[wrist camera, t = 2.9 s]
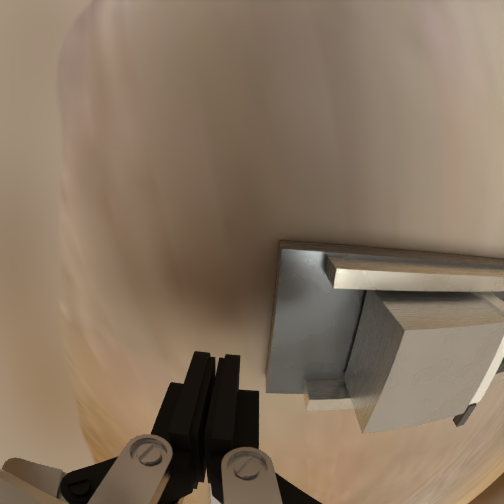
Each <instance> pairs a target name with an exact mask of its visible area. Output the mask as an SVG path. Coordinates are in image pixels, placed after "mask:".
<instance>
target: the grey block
mask: <svg viewBox="0 0 504 504" xmlns="http://www.w3.org/2000/svg"><path fill="white" fill-rule="evenodd" d="M503 336H504V317H503V316H502V315H500V314H499V313H498V312H497V311H495V310H494V309H493V308H491V307H490V306H489V305H487V304H486V303H485V302H483V301H482V300H481V299H479V298H478V297H477V296H475V295H474V294H473V293H471V292H455V291H395V290H367V291H366V296H365V300H364V305H363V309H362V313H361V318H360V322H359V326H358V330H357V334H356V337H355V341H354V345H353V348H352V352H351V356H350V359H349V362H348V366H347V369H346V372H345V376H344V381H345V383H346V386H347V389H348V392H349V395H350V398H351V401H352V404H353V407H354V410H355V413H356V416H357V419H358V422H359V425H360V428H361V431H362V434H367V433H375V432H382V431H388V430H394V429H400V428H406V427H411V426H416V425H420V424H425V423H429V422H433V421H438V420H441V419H445V418H449V417H453V416H456V415H460V414H463V413H464V412H465V410H466V409H467V407H468V405H469V404H470V402H471V400H472V399H473V397H474V395H475V393H476V392H477V390H478V388H479V386H480V384H481V383H482V381H483V379H484V377H485V375H486V373H487V371H488V369H489V367H490V365H491V363H492V361H493V359H494V357H495V355H496V352H497V350H498V348H499V346H500V343H501V341H502V339H503Z"/></svg>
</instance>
